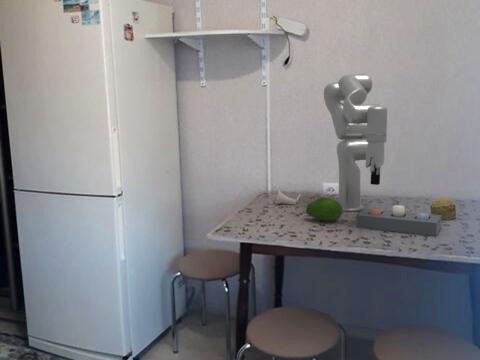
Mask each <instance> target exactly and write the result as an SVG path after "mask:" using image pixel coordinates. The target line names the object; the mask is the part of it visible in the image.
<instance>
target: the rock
mask: <svg viewBox="0 0 480 360" xmlns="http://www.w3.org/2000/svg"><path fill="white" fill-rule="evenodd" d="M429 208H430V214H433V215H442V221H443V220H445V221H448V220H451V221H452V220H455V219H456V216H457V210H456V204H455V203H454V202H453V201H452V200H451V199H450V198H449V199H448V198H445V197H440V198H436V199H434V200H433V201H432V202H431V204H430V207H429Z"/></svg>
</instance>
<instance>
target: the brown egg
mask: <svg viewBox="0 0 480 360" xmlns="http://www.w3.org/2000/svg"><path fill="white" fill-rule="evenodd" d="M369 209H370V214H374V215H381V210H382V209H381V208H375V207H374V208H369Z"/></svg>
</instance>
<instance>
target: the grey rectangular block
mask: <svg viewBox="0 0 480 360" xmlns="http://www.w3.org/2000/svg"><path fill="white" fill-rule="evenodd" d="M370 209H371V208H365V207H364V209H363V210H360V211H358V213H356V214H355V227H356V228H360V229H369V230H376V231H378V230H379V231H386V232H394V233H396V232H397V233H403V234H404V233H406V234H413V235H421V236H431V237H437V236H438V235H439V233H440V231H441V230H442V226H443V225H442V224H443V220H442V215H433V214H431V213H428V214H429V220H425V219H416V218H417V213H418V212H411V211H405V213H404V217H394V216H393V210H388V209H387V210H386V209H381V215H374V214H370Z"/></svg>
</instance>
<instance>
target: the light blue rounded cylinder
mask: <svg viewBox="0 0 480 360" xmlns="http://www.w3.org/2000/svg"><path fill="white" fill-rule="evenodd" d="M416 213H417V218H416V219H425V220H429V214H430V213H427V212H416Z"/></svg>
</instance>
